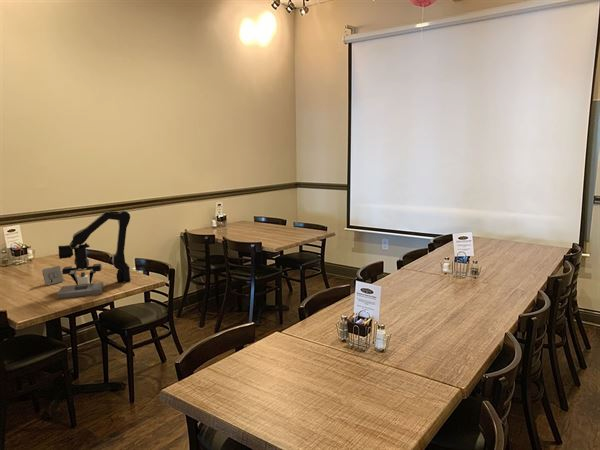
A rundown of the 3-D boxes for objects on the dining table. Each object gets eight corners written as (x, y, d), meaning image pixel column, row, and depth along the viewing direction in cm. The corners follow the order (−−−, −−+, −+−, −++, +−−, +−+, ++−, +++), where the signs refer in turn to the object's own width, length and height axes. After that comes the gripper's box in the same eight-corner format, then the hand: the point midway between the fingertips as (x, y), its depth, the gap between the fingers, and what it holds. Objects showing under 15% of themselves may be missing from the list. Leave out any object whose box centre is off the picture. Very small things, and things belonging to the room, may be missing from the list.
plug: (89, 285, 246) (87, 271, 244) (88, 287, 242) (86, 273, 240) (80, 286, 244) (79, 272, 243) (79, 288, 240) (77, 274, 239)
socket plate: (103, 286, 243) (103, 282, 243) (101, 294, 231) (100, 289, 230) (62, 290, 237) (62, 286, 237) (57, 299, 225) (57, 294, 225)
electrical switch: (46, 286, 246) (43, 269, 245) (42, 285, 249) (40, 268, 248) (64, 281, 253) (61, 265, 252) (60, 281, 256) (57, 265, 255)
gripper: (101, 251, 250) (104, 278, 253) (64, 254, 245) (67, 281, 248) (99, 255, 240) (102, 284, 243) (60, 259, 234) (63, 288, 237)
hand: (84, 284), depth 243 cm, fingers open, 6 cm apart
